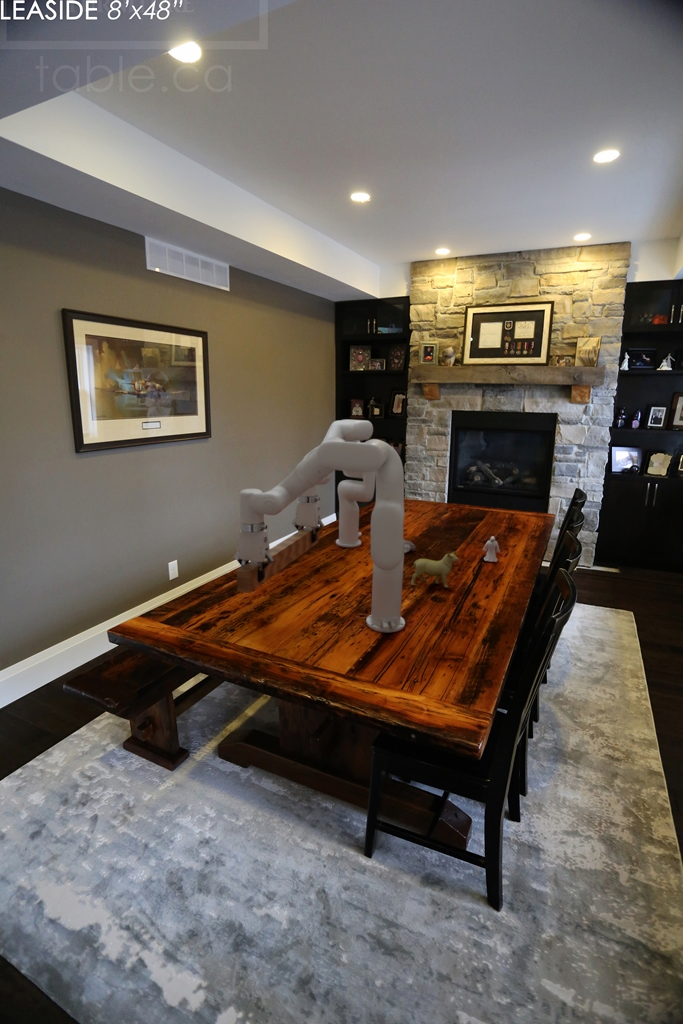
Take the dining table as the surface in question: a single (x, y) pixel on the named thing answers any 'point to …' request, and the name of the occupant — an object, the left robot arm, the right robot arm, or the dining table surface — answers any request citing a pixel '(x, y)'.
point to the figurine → (491, 550)
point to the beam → (276, 559)
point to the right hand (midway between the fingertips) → (254, 578)
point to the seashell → (409, 546)
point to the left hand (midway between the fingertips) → (307, 541)
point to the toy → (434, 568)
